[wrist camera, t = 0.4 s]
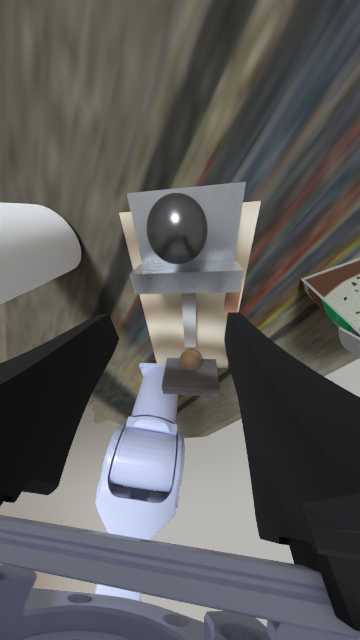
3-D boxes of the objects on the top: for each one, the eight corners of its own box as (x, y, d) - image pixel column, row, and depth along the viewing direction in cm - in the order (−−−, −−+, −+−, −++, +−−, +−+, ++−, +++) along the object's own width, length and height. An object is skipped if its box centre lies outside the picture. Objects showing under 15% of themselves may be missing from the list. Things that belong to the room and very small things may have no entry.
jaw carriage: (229, 272, 14) (252, 315, 8) (148, 275, 15) (118, 316, 9) (241, 184, 10) (297, 152, 5) (132, 195, 11) (67, 178, 6)
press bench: (225, 360, 26) (232, 398, 21) (159, 358, 27) (150, 393, 22) (254, 201, 13) (293, 196, 8) (125, 212, 14) (85, 213, 9)
